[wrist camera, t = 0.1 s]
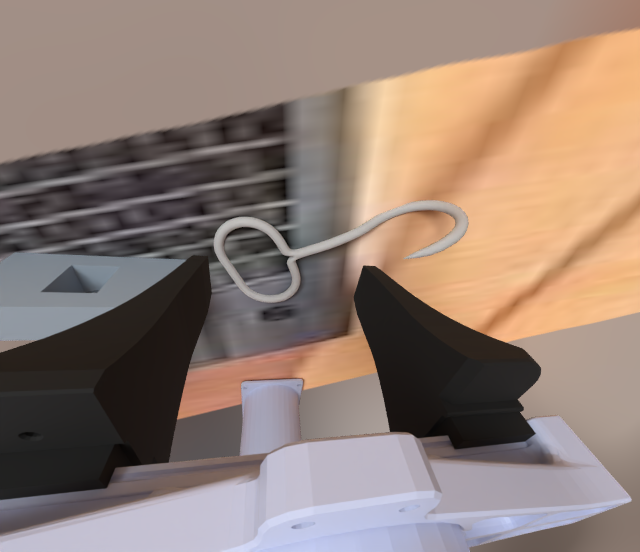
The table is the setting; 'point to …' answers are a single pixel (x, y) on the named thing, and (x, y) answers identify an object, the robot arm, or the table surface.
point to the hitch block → (68, 289)
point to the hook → (333, 242)
